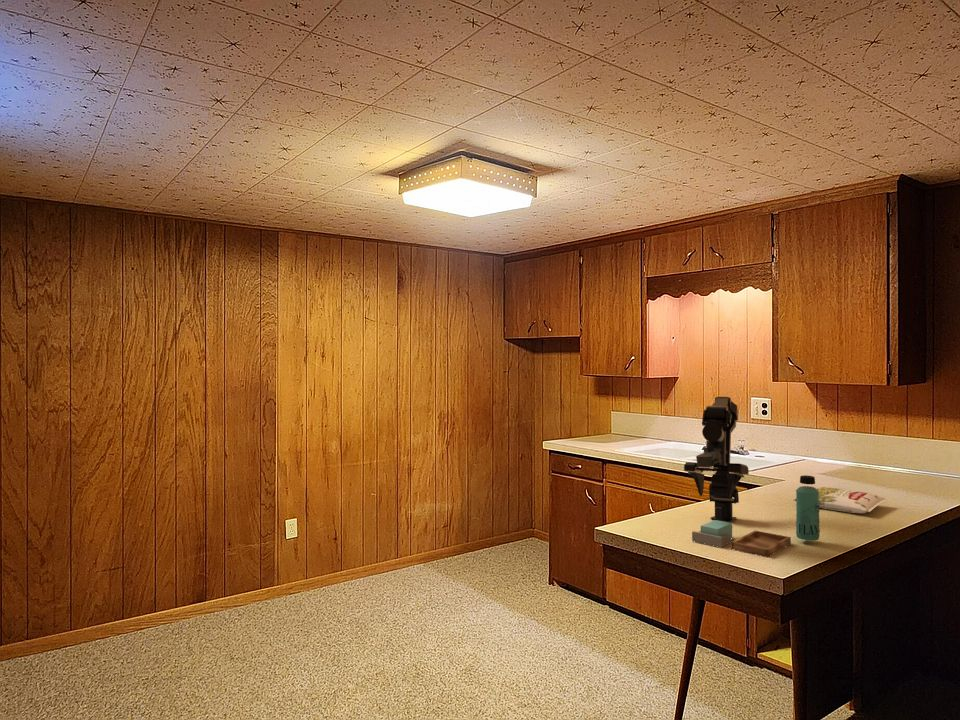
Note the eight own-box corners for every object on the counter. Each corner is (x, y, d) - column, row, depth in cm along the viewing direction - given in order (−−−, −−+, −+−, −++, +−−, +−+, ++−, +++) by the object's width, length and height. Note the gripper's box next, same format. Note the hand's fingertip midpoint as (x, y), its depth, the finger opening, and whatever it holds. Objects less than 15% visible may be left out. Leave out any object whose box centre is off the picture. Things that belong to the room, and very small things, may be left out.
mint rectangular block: (717, 534, 205) (717, 519, 205) (734, 538, 201) (734, 522, 201) (700, 541, 198) (700, 525, 198) (717, 545, 194) (717, 529, 194)
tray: (755, 536, 202) (755, 530, 202) (790, 543, 194) (790, 537, 194) (730, 549, 190) (730, 542, 190) (767, 557, 183) (767, 550, 183)
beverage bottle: (794, 543, 194) (794, 477, 194) (797, 538, 200) (796, 473, 199) (819, 547, 191) (818, 479, 190) (821, 541, 196) (820, 474, 196)
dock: (703, 536, 203) (703, 527, 203) (732, 542, 196) (731, 532, 196) (692, 541, 198) (692, 531, 198) (721, 547, 192) (721, 537, 192)
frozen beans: (813, 481, 252) (887, 490, 234) (813, 496, 252) (887, 506, 234) (792, 492, 237) (869, 503, 219) (792, 508, 237) (870, 520, 219)
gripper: (675, 442, 206) (673, 492, 203) (732, 442, 193) (732, 495, 189) (693, 447, 213) (691, 495, 210) (749, 447, 200) (749, 499, 197)
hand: (714, 496), depth 201 cm, fingers open, 9 cm apart
